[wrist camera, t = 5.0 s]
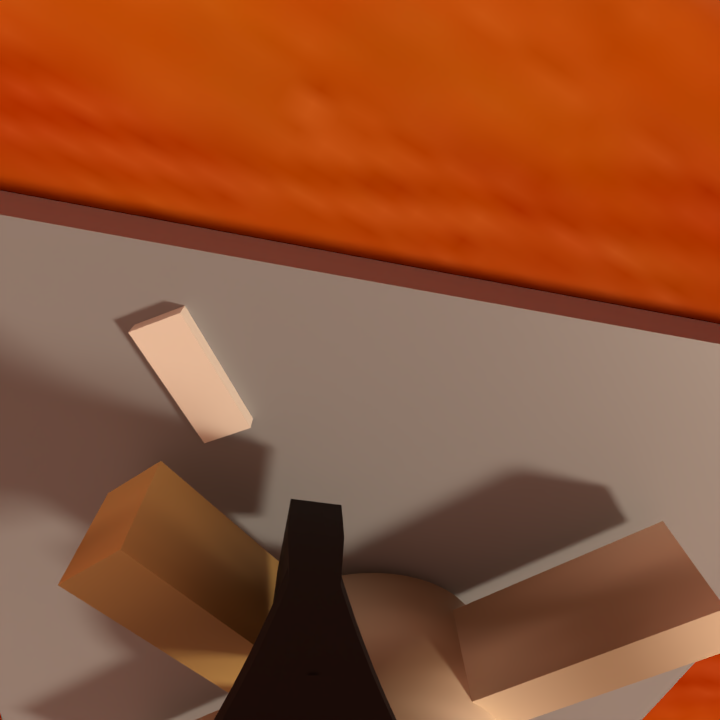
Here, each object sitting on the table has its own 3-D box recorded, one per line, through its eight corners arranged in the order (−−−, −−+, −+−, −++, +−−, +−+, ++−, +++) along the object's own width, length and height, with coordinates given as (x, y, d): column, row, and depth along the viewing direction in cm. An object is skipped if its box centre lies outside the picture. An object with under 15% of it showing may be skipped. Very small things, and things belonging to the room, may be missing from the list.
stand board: (550, 769, 21) (564, 815, 20) (38, 741, 18) (15, 793, 17) (894, 356, 11) (967, 394, 10) (-91, 173, 9) (-168, 191, 7)
